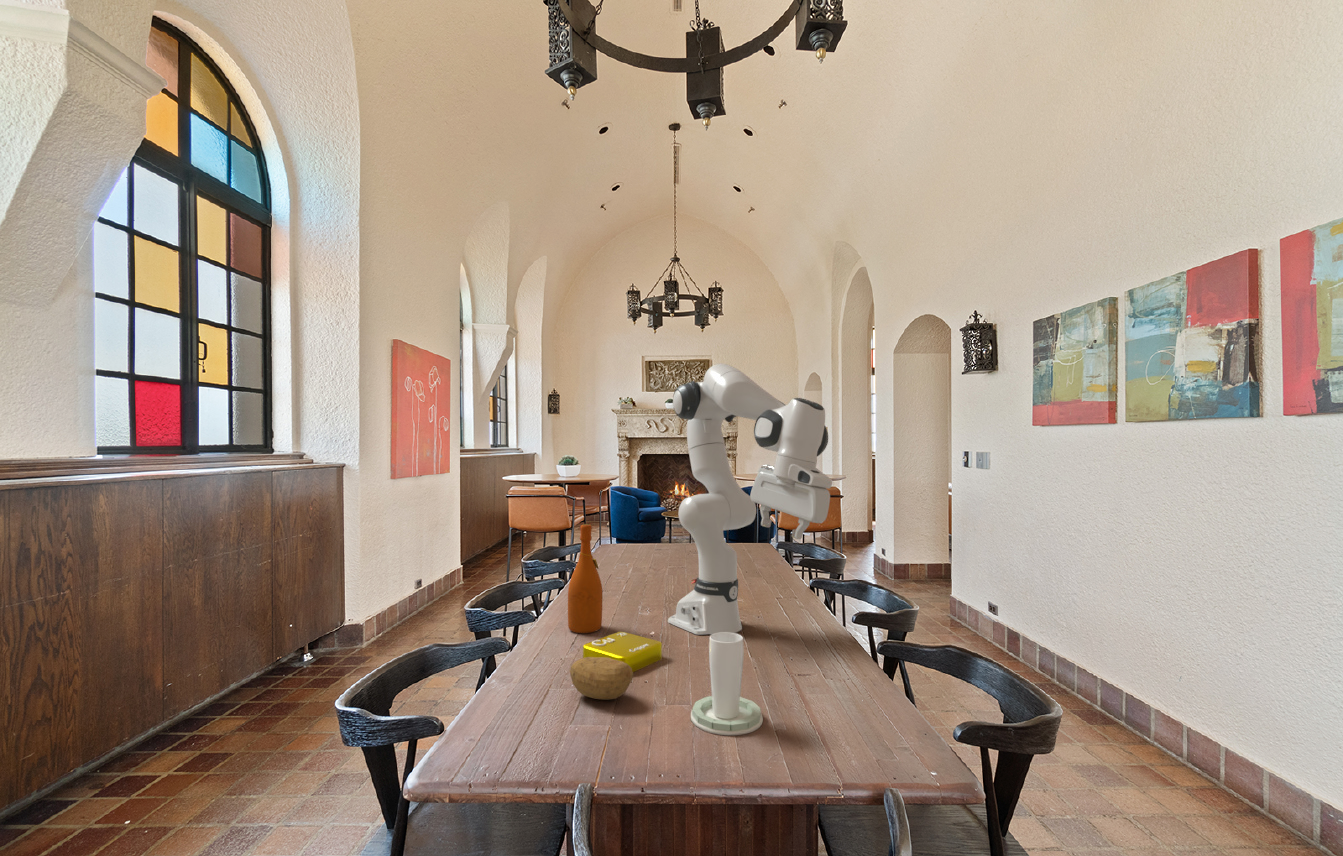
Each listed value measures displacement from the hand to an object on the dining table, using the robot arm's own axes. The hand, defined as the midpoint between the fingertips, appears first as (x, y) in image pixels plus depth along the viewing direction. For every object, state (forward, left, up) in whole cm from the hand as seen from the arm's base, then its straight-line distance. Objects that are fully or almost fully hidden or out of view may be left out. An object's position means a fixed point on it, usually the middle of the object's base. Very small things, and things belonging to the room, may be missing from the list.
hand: (780, 532), depth 135 cm
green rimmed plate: (+1, -20, -34) cm, 40 cm away
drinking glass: (+1, -20, -34) cm, 39 cm away
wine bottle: (-63, -4, -34) cm, 72 cm away
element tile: (-37, -13, -35) cm, 53 cm away
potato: (-24, -31, -34) cm, 52 cm away
